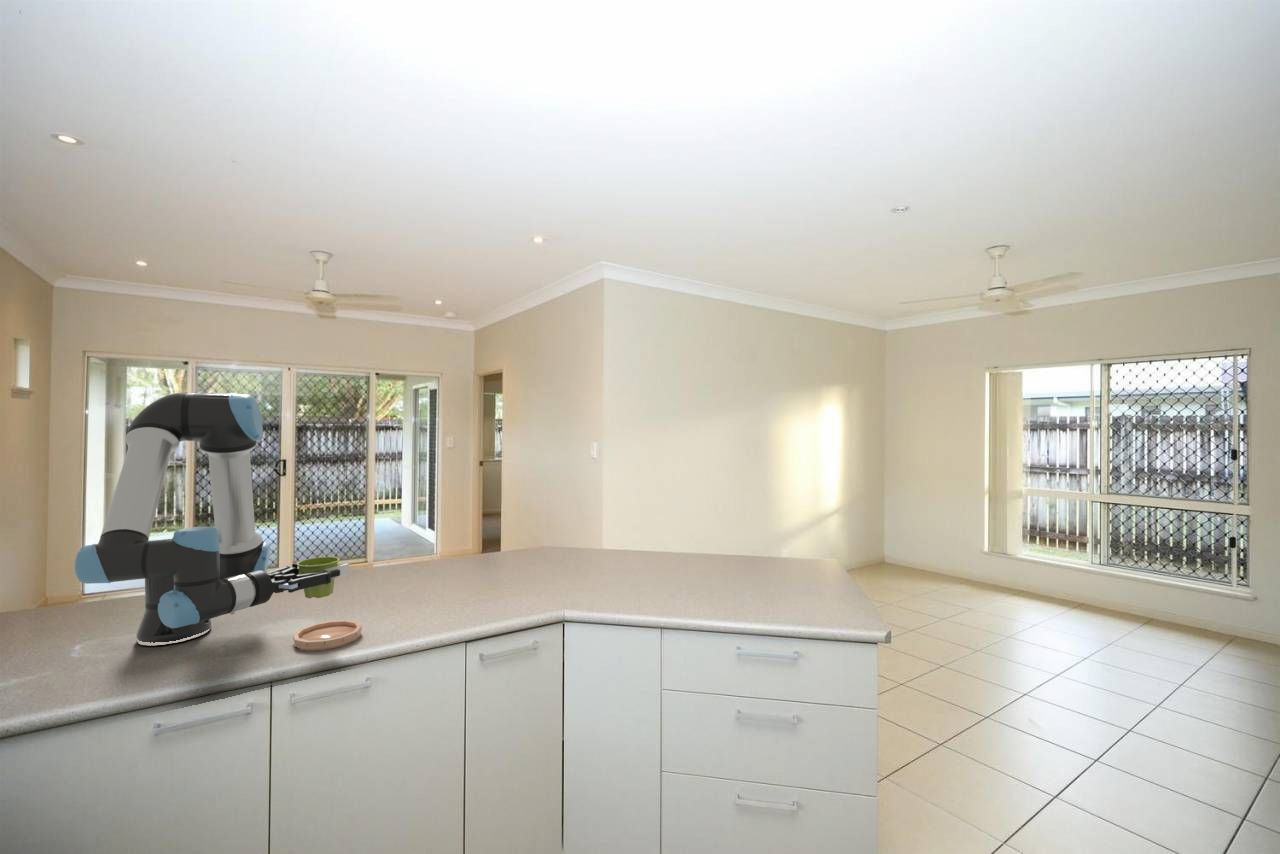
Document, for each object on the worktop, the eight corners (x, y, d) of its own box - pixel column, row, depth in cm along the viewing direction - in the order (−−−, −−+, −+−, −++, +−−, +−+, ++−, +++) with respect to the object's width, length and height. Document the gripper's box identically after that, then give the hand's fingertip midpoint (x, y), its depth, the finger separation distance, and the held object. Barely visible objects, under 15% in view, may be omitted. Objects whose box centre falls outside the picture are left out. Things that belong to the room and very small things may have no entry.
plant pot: (306, 603, 138) (306, 567, 138) (290, 596, 144) (290, 561, 144) (346, 594, 145) (346, 560, 145) (329, 587, 151) (329, 554, 151)
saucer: (279, 645, 142) (279, 636, 142) (332, 625, 156) (332, 617, 156) (323, 654, 137) (323, 645, 137) (373, 633, 151) (373, 624, 151)
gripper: (216, 601, 132) (307, 577, 153) (277, 613, 124) (365, 586, 144) (215, 569, 132) (307, 549, 153) (277, 579, 124) (365, 556, 144)
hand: (335, 567), depth 149 cm, fingers closed on plant pot, 8 cm apart
